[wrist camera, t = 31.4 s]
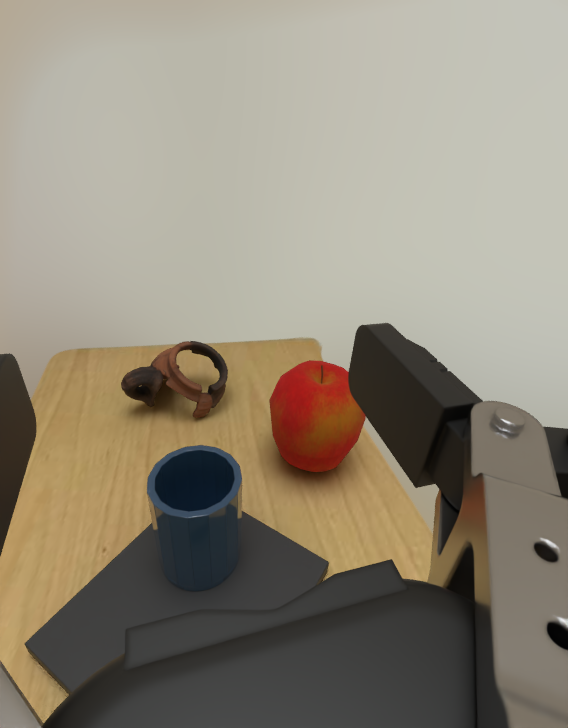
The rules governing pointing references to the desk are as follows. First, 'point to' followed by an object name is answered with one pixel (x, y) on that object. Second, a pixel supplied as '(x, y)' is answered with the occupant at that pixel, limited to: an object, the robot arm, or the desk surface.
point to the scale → (165, 598)
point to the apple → (315, 416)
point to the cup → (196, 516)
